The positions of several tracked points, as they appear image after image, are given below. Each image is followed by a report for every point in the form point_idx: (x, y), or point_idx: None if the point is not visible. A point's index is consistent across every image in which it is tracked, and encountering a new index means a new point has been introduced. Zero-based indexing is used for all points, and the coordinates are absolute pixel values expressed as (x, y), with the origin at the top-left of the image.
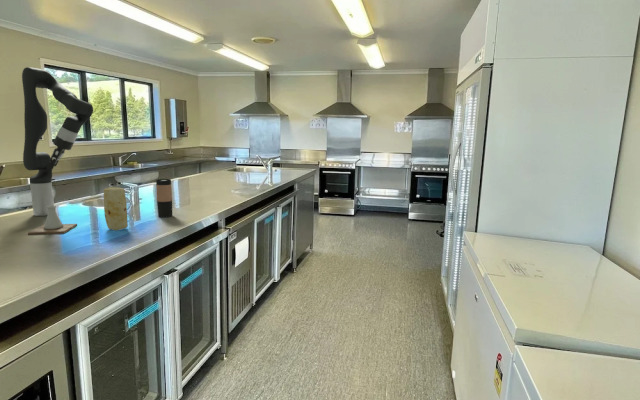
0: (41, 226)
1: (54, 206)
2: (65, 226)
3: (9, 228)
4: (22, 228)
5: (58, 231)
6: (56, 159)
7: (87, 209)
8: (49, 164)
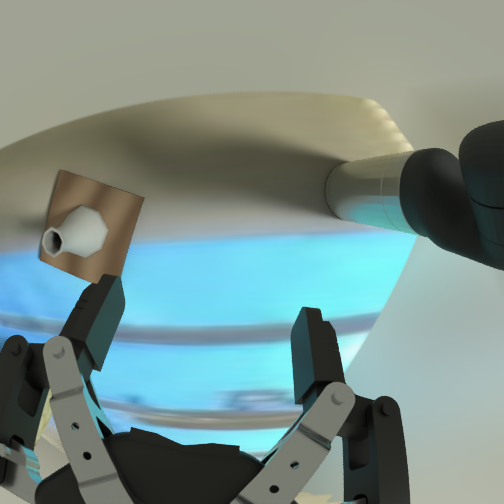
0: (118, 194)
1: (57, 252)
2: (90, 262)
3: (170, 107)
4: (150, 140)
5: (42, 247)
6: (19, 403)
7: (363, 309)
8: (69, 316)
